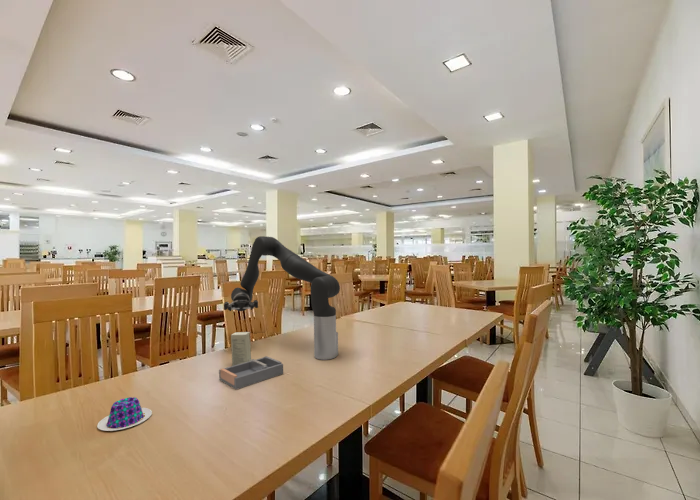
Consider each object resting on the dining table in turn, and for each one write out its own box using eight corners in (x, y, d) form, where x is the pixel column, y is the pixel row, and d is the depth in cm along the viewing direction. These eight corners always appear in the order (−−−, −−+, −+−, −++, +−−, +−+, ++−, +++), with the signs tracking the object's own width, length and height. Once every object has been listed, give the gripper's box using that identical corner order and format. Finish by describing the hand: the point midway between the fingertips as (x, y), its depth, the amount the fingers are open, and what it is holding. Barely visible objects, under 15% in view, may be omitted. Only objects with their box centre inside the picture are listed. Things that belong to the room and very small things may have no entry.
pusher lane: (265, 366, 127) (264, 355, 127) (283, 373, 118) (283, 362, 118) (219, 379, 114) (219, 368, 114) (236, 389, 105) (235, 377, 105)
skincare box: (251, 362, 131) (251, 331, 131) (247, 366, 127) (246, 334, 127) (236, 362, 132) (235, 331, 132) (231, 366, 128) (230, 334, 128)
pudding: (140, 406, 96) (140, 388, 96) (160, 418, 89) (159, 398, 89) (90, 424, 86) (89, 404, 86) (107, 439, 79) (106, 417, 79)
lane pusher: (253, 367, 122) (253, 358, 122) (266, 373, 115) (266, 364, 115) (250, 368, 121) (250, 359, 121) (263, 374, 114) (263, 365, 114)
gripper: (225, 294, 153) (222, 300, 137) (257, 292, 157) (258, 298, 141) (225, 310, 153) (223, 318, 137) (257, 308, 157) (258, 315, 142)
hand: (241, 308), depth 139 cm, fingers open, 8 cm apart
